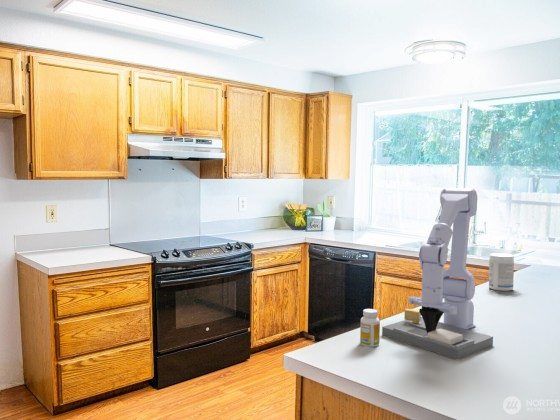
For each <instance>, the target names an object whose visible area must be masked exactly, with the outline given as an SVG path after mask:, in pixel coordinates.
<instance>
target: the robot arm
mask: <svg viewBox="0 0 560 420" xmlns="http://www.w3.org/2000/svg"><path fill="white" fill-rule="evenodd" d="M439 197H440V198H439V202H440V204H441V209H442V210H441V213H440V217H439V221H438V223H436V224H434V225H433V226H432V229H431V230H430V233H429V235H428V237H427V241H426V243H424V244H423V245H421V246H420V248H419V251H418V252H419V254H418V260H419V264H420V266H419V267H420V270H421V297H418V296H415V295H413V296H408V300H407V301H408V303H407V304H409V305H414V306H415V305H416V306H420V307H421V308H420V309H418V310H419V312H420V314H421V317H422V318H423V320H424V323H425V327H426V331H427V334H428V332H431V331H434V330H436V327H437V324H438V322H440V320H441V318H442V316H443V322H441V323H445V324H449V325H452V326H456V327H459V328H463V329H467V330H470V329H472V328H474V327H476V326H477V324H475V323H474V316H475V315H474V314H475V313H474V312H475V311H474V308H475V305H474V303H473V301H472V299H473V298H474V296H475V293H476V292H475V291H476V285H475V284H476V283H475V276H474V274H472V273H471V272H470V271H469V270H468V269H467V258H468V246H469V245H468V244H469V231H470V221H471V217H474V216H476V213H477V208H478V193H477V190H476V189H475V188H450V187H449V188H448V187H444V188H443V189H442V190H441V191H440V195H439ZM451 227H452V228H451ZM450 242H451V247H450V248H451V250H450V257H449V258H450V259H449V267H448V268H447V269H446V270H444V268H445V267H444V266H445V265H446V263H447V260H448V252H449V244H450ZM443 300H444V301H443Z"/></svg>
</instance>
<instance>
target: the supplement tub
mask: <svg viewBox="0 0 560 420" xmlns="http://www.w3.org/2000/svg"><path fill="white" fill-rule="evenodd" d="M488 259H489V261H488V288H490V289H492V290H493V291H498V292H499V291H501V292H509V291H512V290H513V289H514V275H515V274H514V271H515V269H514V268H515V267H514V266H515V260H514V259H515V258H514V255H513V254H509V253H500V252H499V253H498V252H497V253H496V252H495V253H490V254H489V257H488Z"/></svg>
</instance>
